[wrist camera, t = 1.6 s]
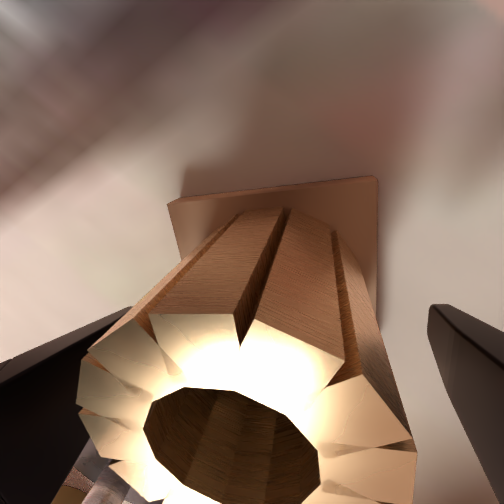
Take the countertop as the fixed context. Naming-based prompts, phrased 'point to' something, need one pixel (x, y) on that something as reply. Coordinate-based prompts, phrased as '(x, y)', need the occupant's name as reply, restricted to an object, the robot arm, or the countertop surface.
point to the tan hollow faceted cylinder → (252, 376)
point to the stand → (291, 196)
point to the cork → (69, 496)
